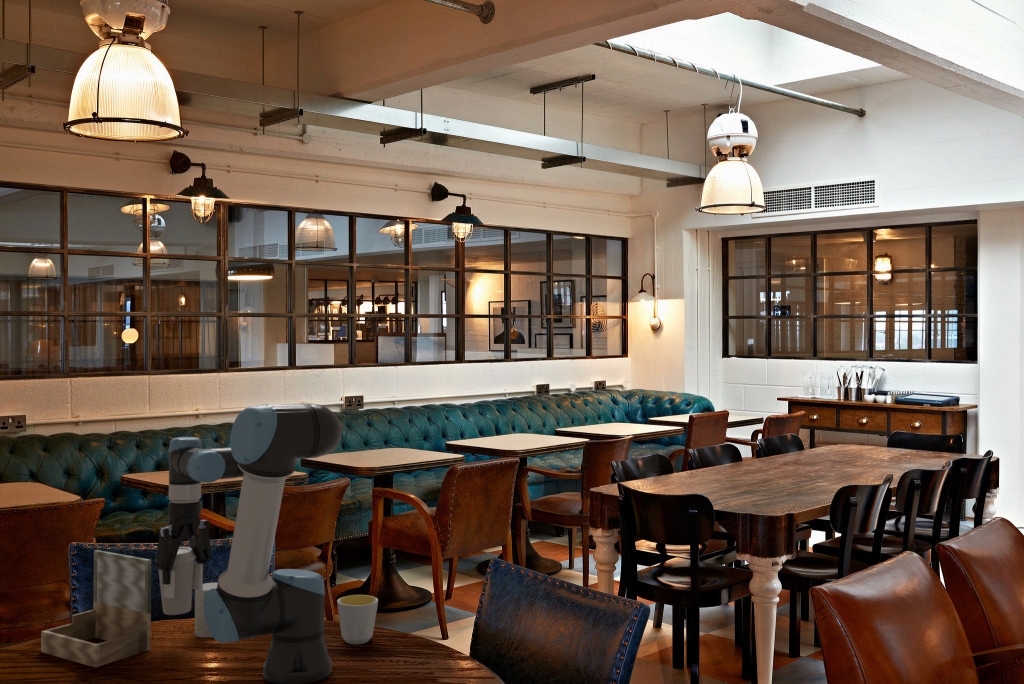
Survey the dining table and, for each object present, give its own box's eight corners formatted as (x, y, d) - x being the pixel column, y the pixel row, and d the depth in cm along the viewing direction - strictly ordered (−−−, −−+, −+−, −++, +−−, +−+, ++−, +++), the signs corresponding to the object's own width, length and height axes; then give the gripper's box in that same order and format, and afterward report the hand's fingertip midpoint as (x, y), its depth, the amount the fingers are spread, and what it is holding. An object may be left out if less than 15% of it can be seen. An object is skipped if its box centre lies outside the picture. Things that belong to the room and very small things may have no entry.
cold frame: (154, 648, 228) (155, 558, 228) (95, 667, 214) (96, 572, 214) (101, 634, 239) (101, 549, 239) (41, 652, 225) (42, 561, 225)
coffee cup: (178, 602, 237) (177, 544, 236) (205, 608, 232) (204, 548, 232) (148, 613, 228) (146, 553, 228) (175, 619, 224) (174, 557, 223)
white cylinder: (188, 635, 239) (188, 588, 239) (207, 626, 246) (207, 581, 247) (215, 638, 236) (215, 591, 236) (233, 629, 244) (234, 583, 244)
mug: (373, 647, 230) (374, 605, 230) (332, 647, 230) (333, 604, 230) (383, 631, 243) (383, 591, 243) (344, 630, 244) (344, 590, 244)
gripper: (207, 493, 239) (206, 582, 239) (138, 504, 221) (137, 600, 221) (228, 496, 235) (227, 586, 235) (159, 507, 217) (158, 605, 217)
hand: (183, 593), depth 228 cm, fingers closed on coffee cup, 8 cm apart
